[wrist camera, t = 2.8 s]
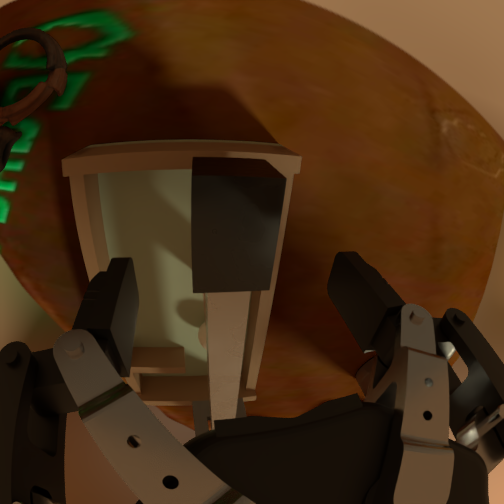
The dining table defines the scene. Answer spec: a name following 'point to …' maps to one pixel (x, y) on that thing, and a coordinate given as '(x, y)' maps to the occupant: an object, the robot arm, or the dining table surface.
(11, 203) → the dining table surface
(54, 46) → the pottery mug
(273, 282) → the wooden tray
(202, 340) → the ball
